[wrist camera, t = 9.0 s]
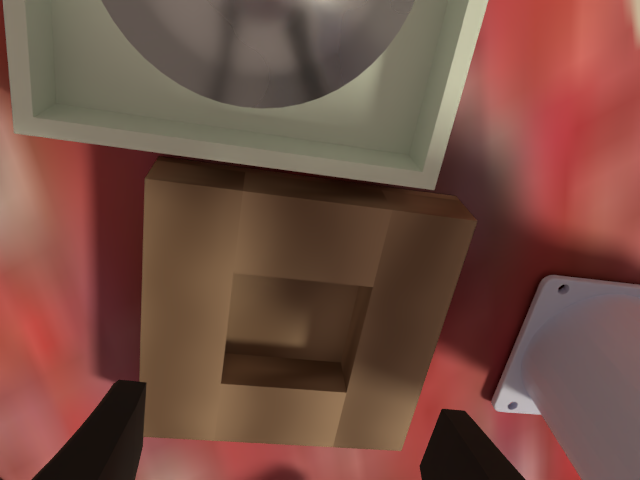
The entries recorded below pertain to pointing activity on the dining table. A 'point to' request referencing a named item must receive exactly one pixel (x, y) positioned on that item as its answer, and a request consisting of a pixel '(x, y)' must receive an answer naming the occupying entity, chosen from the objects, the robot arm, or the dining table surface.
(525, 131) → the dining table surface
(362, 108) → the tray
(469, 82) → the dining table surface
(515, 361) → the robot arm
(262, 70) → the steel pin
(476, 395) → the dining table surface
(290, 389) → the socket block
